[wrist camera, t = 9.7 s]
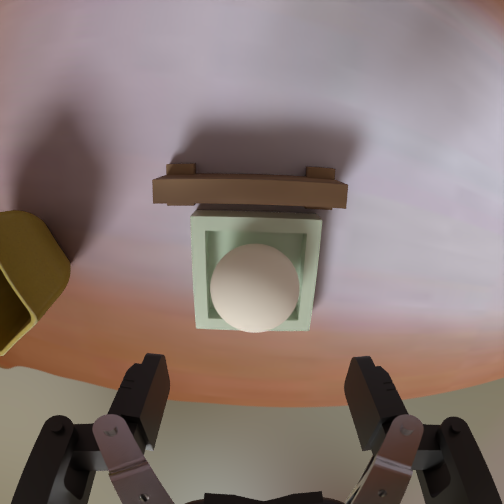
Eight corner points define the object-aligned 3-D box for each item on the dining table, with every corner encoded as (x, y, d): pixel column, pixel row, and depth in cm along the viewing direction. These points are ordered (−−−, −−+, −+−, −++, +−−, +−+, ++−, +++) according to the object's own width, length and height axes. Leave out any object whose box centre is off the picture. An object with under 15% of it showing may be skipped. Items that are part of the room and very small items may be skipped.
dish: (195, 210, 22) (190, 216, 20) (316, 213, 22) (322, 220, 20) (199, 314, 25) (196, 328, 23) (305, 317, 25) (309, 330, 23)
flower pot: (4, 241, 23) (-54, 275, 14) (43, 190, 21) (-27, 214, 13) (49, 309, 25) (0, 358, 17) (95, 269, 24) (39, 321, 15)
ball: (214, 231, 22) (202, 262, 16) (296, 233, 22) (311, 264, 16) (216, 303, 24) (207, 348, 18) (290, 305, 24) (300, 350, 18)
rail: (169, 164, 21) (152, 167, 17) (332, 168, 21) (348, 172, 17) (170, 203, 22) (153, 215, 18) (329, 207, 22) (344, 220, 18)
